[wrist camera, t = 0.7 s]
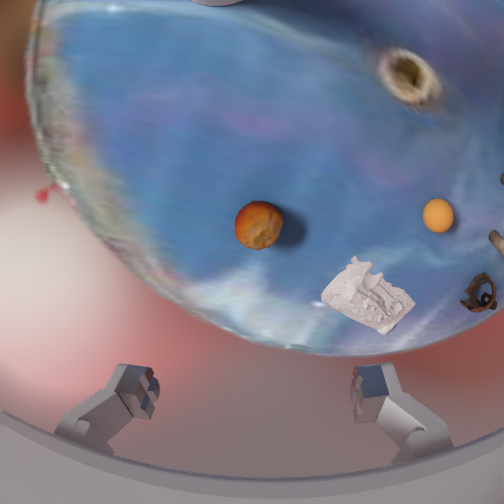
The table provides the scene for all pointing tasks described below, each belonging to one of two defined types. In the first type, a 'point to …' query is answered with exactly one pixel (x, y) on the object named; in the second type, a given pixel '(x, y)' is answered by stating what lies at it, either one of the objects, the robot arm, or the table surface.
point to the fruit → (258, 225)
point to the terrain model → (367, 297)
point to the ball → (438, 215)
